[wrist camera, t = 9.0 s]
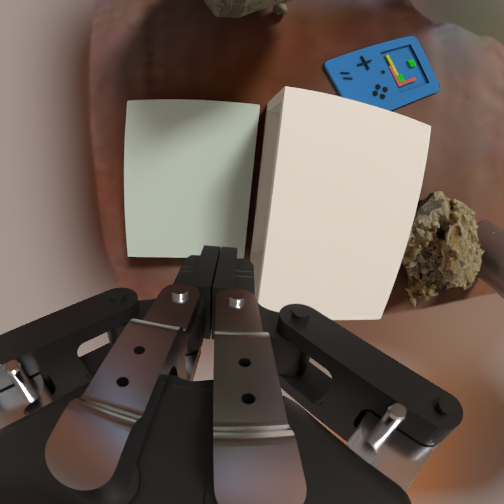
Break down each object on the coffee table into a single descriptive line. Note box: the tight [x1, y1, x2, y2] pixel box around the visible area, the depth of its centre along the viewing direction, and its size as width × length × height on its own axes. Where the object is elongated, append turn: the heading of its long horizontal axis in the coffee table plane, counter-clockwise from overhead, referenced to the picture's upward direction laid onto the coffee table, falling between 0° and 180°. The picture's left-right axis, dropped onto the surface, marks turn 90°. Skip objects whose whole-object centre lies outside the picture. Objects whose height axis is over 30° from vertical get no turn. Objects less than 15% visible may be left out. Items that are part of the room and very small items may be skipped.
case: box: [250, 86, 431, 320], centre depth 25 cm, size 12×18×12 cm, turn 174°
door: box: [124, 99, 260, 258], centre depth 28 cm, size 2×17×14 cm
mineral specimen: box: [402, 190, 484, 307], centre depth 29 cm, size 14×13×10 cm
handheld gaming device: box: [324, 36, 440, 111], centre depth 25 cm, size 8×1×15 cm
